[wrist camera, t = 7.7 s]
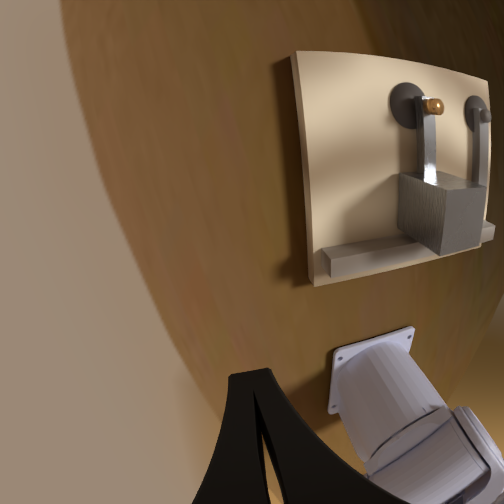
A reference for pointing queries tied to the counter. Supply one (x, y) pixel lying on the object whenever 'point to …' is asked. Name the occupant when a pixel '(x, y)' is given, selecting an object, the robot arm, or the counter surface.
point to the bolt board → (377, 154)
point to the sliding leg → (438, 194)
